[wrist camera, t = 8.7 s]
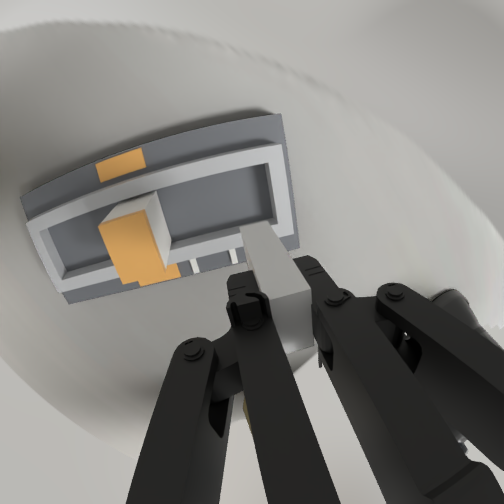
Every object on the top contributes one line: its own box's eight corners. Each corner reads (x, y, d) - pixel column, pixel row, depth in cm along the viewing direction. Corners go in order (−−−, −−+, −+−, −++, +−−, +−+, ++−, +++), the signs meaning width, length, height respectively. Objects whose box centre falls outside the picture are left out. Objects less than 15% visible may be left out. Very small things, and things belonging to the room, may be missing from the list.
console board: (274, 114, 21) (286, 112, 18) (292, 239, 26) (305, 255, 23) (30, 191, 19) (11, 202, 16) (74, 293, 25) (64, 313, 22)
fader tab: (156, 190, 20) (142, 212, 15) (171, 240, 22) (165, 274, 17) (119, 201, 20) (97, 226, 15) (137, 249, 22) (122, 284, 17)
